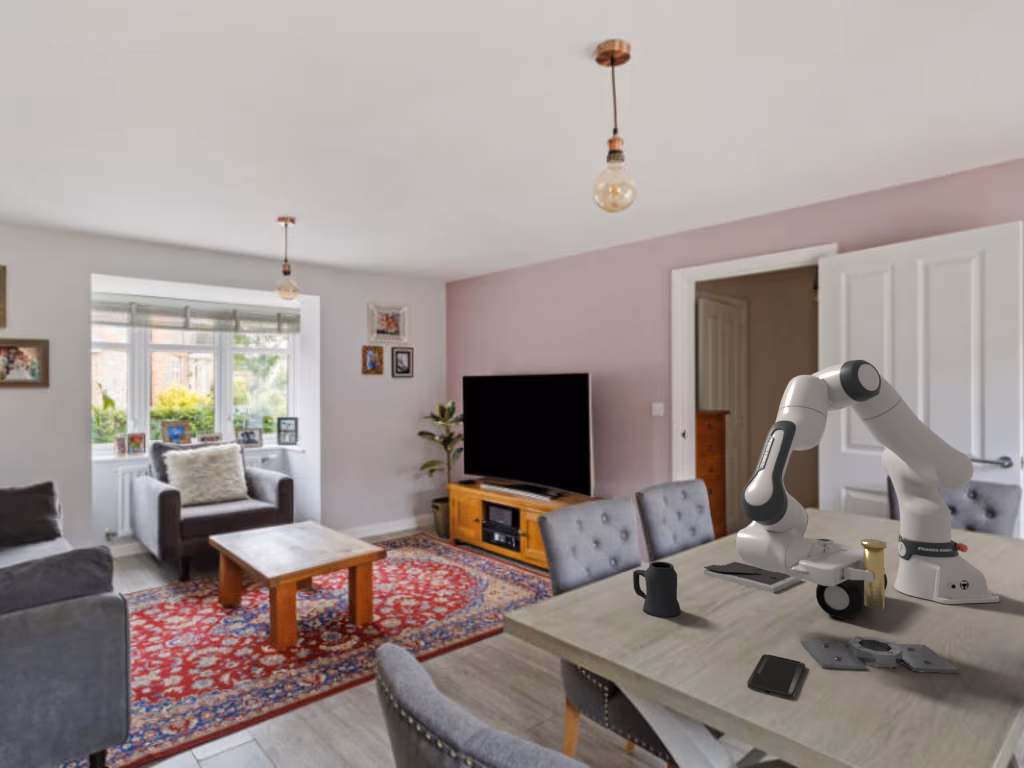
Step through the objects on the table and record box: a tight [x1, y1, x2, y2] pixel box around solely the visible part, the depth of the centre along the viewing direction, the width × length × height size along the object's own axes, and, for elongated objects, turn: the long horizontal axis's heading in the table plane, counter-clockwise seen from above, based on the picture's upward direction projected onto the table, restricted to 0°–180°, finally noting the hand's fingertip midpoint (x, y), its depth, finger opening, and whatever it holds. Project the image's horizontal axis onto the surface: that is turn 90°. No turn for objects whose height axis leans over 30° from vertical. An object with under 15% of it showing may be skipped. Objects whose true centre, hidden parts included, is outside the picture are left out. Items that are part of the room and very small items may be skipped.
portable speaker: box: [815, 573, 888, 619], centre depth 148 cm, size 26×10×10 cm, turn 134°
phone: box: [746, 653, 806, 700], centre depth 112 cm, size 8×1×15 cm
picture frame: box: [703, 559, 802, 594], centre depth 171 cm, size 16×3×21 cm
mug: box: [632, 561, 682, 619], centre depth 147 cm, size 12×9×11 cm
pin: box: [860, 538, 888, 610], centre depth 120 cm, size 4×4×13 cm
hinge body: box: [800, 636, 959, 675], centre depth 120 cm, size 24×11×2 cm, turn 84°
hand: (878, 574), depth 119 cm, fingers closed on pin, 3 cm apart
